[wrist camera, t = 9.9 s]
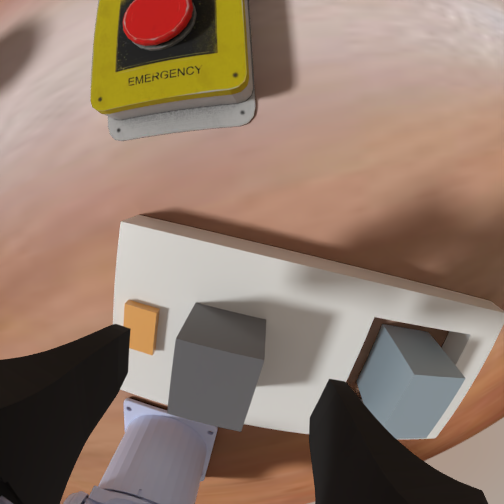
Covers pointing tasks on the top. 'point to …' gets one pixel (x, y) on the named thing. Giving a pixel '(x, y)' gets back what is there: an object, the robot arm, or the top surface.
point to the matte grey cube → (216, 366)
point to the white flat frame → (278, 314)
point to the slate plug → (408, 381)
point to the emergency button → (172, 66)
